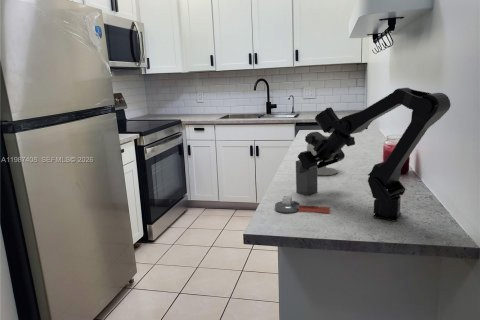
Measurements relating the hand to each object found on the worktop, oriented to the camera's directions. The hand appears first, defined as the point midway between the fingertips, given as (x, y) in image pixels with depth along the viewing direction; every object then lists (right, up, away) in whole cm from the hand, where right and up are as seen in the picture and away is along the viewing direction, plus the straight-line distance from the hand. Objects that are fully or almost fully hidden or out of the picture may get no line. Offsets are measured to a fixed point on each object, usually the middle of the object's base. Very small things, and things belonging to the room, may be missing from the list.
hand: (309, 169), depth 131 cm
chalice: (+12, -2, +28) cm, 31 cm away
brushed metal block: (0, -8, +3) cm, 9 cm away
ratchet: (-5, -13, -14) cm, 19 cm away
